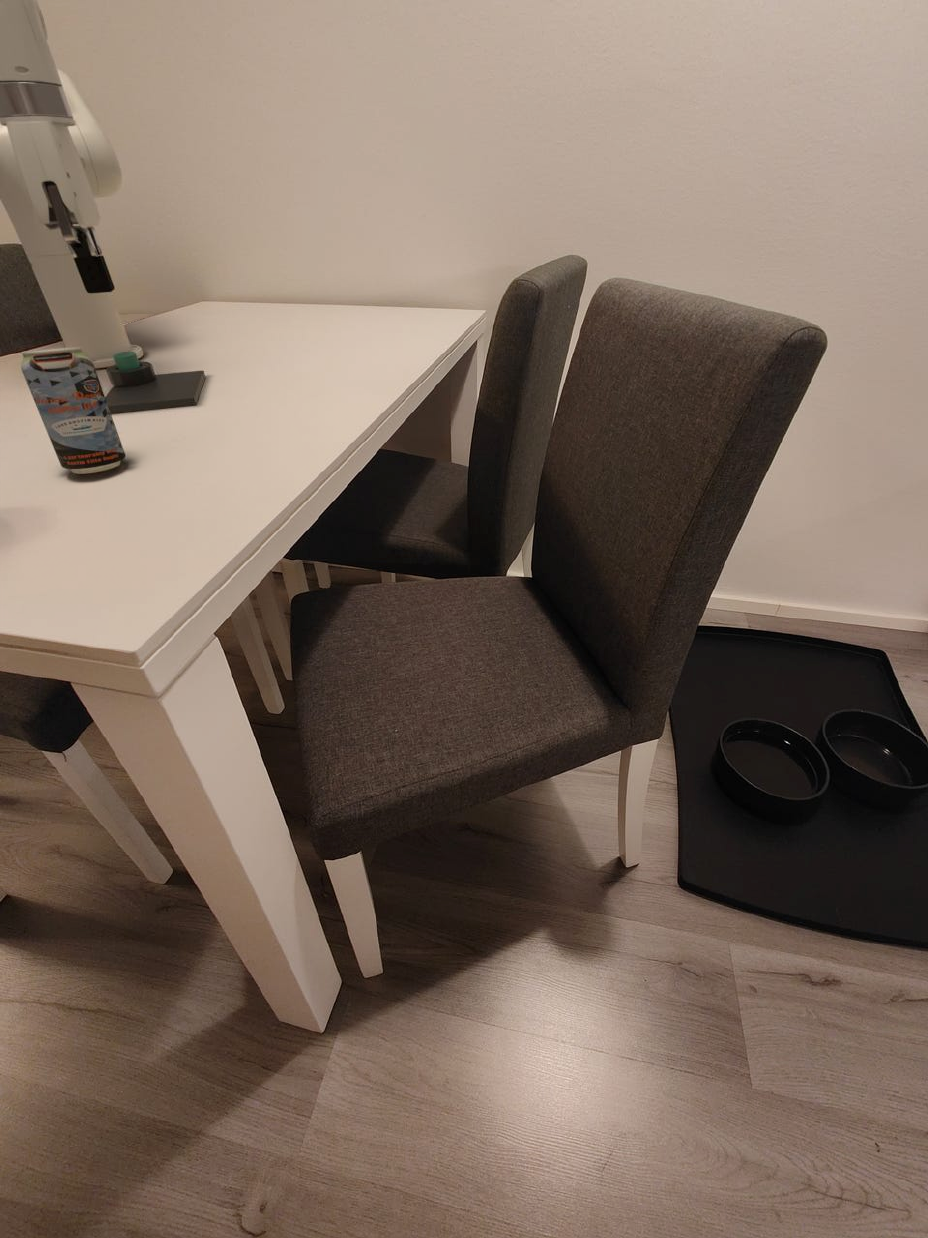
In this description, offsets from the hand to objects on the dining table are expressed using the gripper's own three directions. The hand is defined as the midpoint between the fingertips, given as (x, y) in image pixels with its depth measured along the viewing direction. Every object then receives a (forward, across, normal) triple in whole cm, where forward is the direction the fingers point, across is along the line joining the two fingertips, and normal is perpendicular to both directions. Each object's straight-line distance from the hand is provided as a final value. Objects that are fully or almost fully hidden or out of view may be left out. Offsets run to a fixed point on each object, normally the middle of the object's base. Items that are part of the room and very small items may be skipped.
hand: (101, 291), depth 76 cm
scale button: (+10, 0, 0) cm, 10 cm away
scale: (+13, +4, +3) cm, 14 cm away
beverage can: (+13, +30, +1) cm, 33 cm away
